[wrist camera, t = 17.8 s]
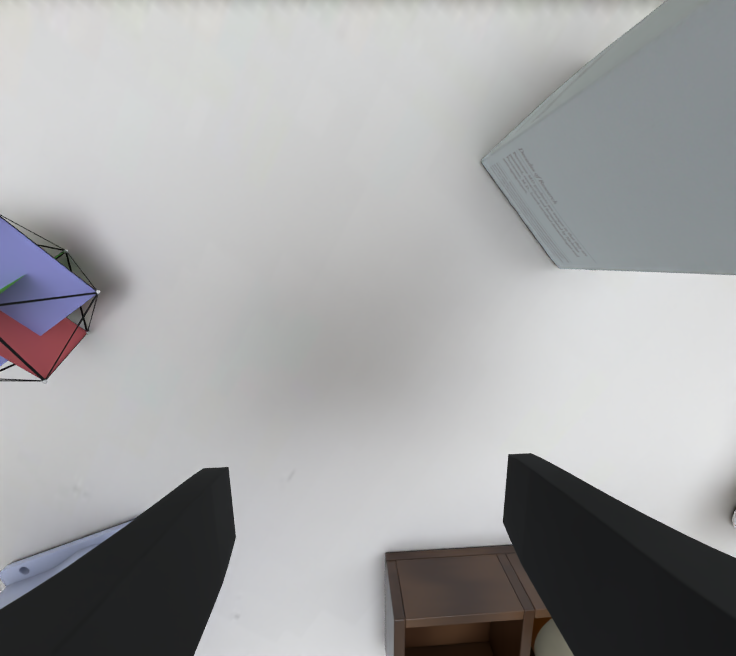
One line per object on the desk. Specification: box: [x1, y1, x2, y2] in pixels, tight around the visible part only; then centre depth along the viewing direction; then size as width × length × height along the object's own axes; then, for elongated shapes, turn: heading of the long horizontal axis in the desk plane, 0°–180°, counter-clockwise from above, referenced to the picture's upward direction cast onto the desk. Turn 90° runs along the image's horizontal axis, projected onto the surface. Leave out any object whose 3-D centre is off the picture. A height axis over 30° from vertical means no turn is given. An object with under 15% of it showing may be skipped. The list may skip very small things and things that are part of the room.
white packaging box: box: [482, 0, 736, 275], centre depth 11 cm, size 7×7×13 cm
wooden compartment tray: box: [385, 545, 551, 656], centre depth 21 cm, size 14×8×4 cm, turn 90°
